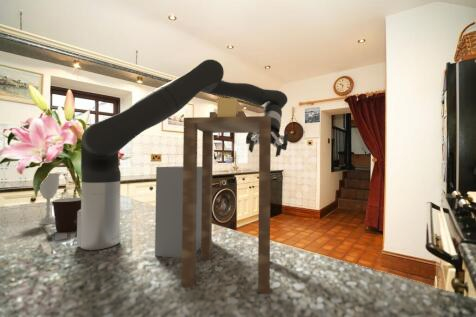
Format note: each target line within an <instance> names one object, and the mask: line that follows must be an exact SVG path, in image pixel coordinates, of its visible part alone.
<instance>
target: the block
mask: <svg viewBox="0 0 476 317" xmlns="http://www.w3.org/2000/svg"><path fill="white" fill-rule="evenodd" d="M155 168H156V170H155V171H156V172H155V219H154V220H155V225H154V227H155V229H154V232H155V233H154V234H155V235H154V257H164V258H176V259H177V258H178V259H182V214H183V165H181V166H180V165H177V166H175V165H174V166H156V167H155ZM201 217H202V165H200V166H198V165H197V205H196V253H197V252H198V251H199V249H201Z"/></svg>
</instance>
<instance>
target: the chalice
mask: <svg viewBox="0 0 476 317" xmlns="http://www.w3.org/2000/svg"><path fill="white" fill-rule="evenodd" d="M48 173H49V172H48ZM60 175H61V173H57V172H53V173H51V172H50V173H49V175H48V177H47V178H46V179H45V180H44V181H43V183H42V184H41V186H40V189H39V188H38V191H39V193H40V195H41V196H42V198H43V199H45V200H46V203H45V206H46V208H45V212H46V214H45V215H44V216H42V217H41V219H40V222H39V223H38V225H42V226H43V225H51V223H52V224H55V223H54V222H55V217H54V215H51V213H50V212H51V210H52V209H51V204H52V203H51V199H54V197H55V196H56V193H57V192H58V189H59V188H60V187H59V186H60Z"/></svg>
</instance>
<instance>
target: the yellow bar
mask: <svg viewBox="0 0 476 317" xmlns="http://www.w3.org/2000/svg"><path fill="white" fill-rule="evenodd" d="M238 100H239V99H237V98H232V97H227V98H217V105H216V106H217V110H216V113H217V117H238V111H244V109H243V108H242V106H241V104H240V102H239V101H238ZM239 134H248V132H240V133H239Z"/></svg>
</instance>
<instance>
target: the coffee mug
mask: <svg viewBox="0 0 476 317" xmlns="http://www.w3.org/2000/svg"><path fill="white" fill-rule="evenodd" d="M52 207H53V216H54V218H55V223H54V224H55V232H56V233H59V234H62V233H65V234H66V233H72V231H73V232H77V212H78V211H79V210H81V197H64V198H56V199H52Z"/></svg>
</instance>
